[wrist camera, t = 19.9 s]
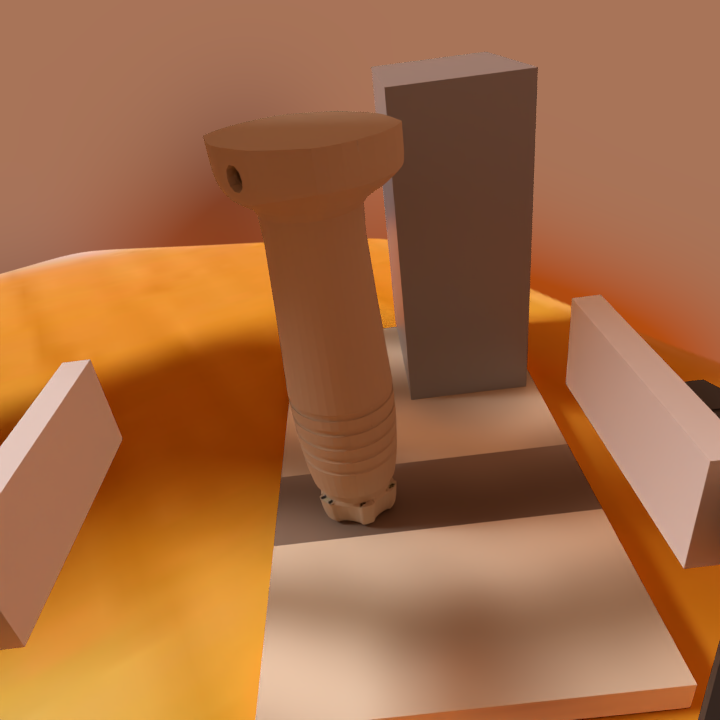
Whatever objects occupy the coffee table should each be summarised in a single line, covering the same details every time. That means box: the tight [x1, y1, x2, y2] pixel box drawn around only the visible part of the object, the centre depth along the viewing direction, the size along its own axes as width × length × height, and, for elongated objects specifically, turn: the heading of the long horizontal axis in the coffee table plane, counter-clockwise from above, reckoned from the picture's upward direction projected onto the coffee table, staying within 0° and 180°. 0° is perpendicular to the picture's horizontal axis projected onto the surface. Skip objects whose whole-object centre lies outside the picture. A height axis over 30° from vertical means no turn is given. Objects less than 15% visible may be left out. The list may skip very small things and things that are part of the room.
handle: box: [203, 111, 404, 525], centre depth 21 cm, size 5×6×15 cm
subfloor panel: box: [256, 327, 697, 720], centre depth 28 cm, size 24×13×1 cm, turn 2°
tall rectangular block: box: [372, 52, 538, 400], centre depth 31 cm, size 9×6×15 cm
